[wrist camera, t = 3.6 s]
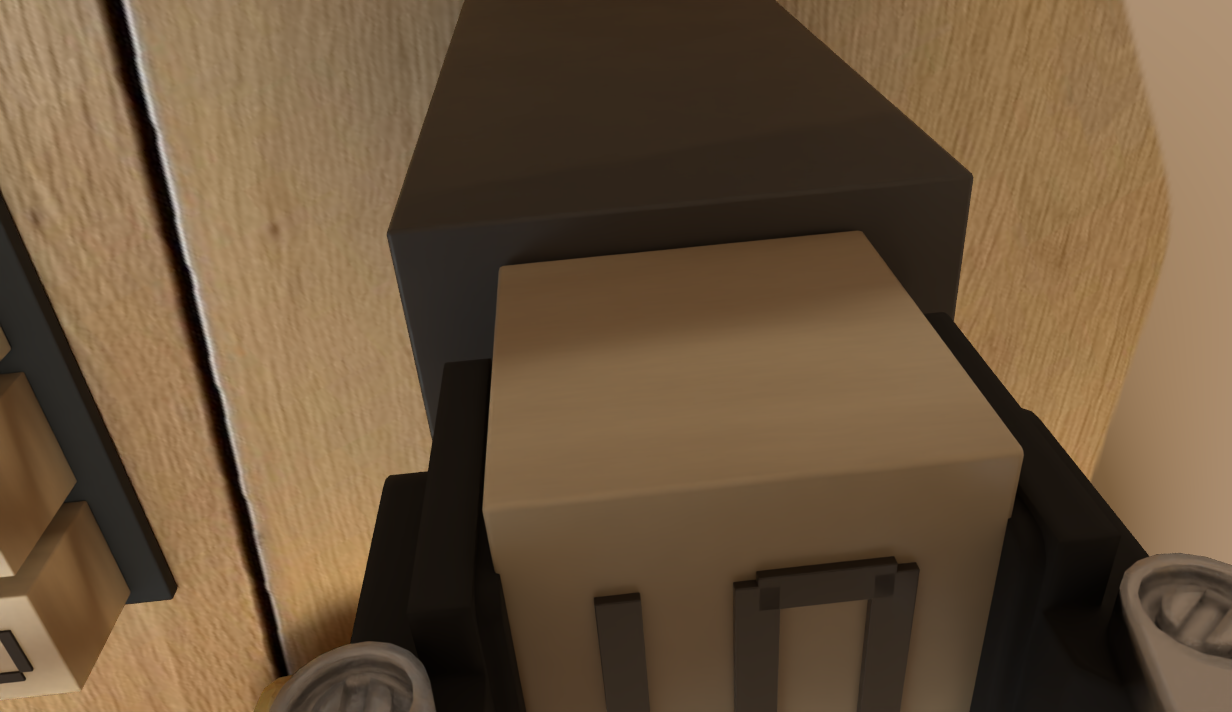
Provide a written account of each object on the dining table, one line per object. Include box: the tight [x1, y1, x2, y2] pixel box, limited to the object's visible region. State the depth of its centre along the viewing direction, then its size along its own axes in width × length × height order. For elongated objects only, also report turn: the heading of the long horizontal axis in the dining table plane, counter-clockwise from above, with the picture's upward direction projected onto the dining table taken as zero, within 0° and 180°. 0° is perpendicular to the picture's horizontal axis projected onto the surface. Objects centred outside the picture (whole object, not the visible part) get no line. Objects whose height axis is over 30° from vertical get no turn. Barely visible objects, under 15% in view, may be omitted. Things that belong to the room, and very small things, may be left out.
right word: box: [387, 0, 973, 441], centre depth 21 cm, size 21×7×20 cm, turn 4°
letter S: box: [482, 231, 1024, 712], centre depth 10 cm, size 4×4×4 cm
